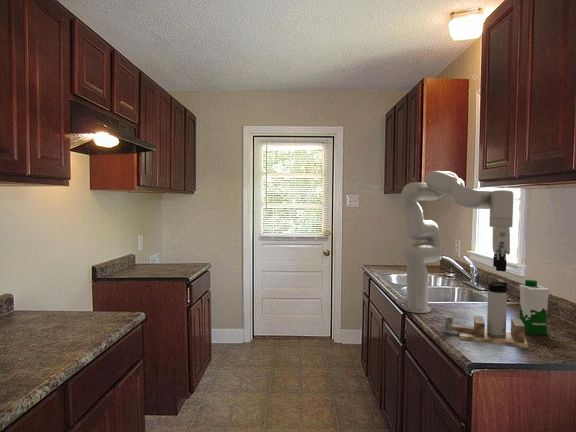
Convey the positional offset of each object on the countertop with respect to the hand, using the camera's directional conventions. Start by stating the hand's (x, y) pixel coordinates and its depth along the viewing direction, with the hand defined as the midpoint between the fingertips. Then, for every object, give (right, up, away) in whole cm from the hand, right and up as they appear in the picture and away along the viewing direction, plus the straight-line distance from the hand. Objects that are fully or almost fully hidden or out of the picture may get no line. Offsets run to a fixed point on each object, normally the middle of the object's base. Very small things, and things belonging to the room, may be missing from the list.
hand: (499, 268), depth 146 cm
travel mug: (0, -25, +1) cm, 25 cm away
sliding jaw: (-11, -24, +5) cm, 27 cm away
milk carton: (+18, -26, +9) cm, 34 cm away
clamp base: (-2, -26, +2) cm, 26 cm away
